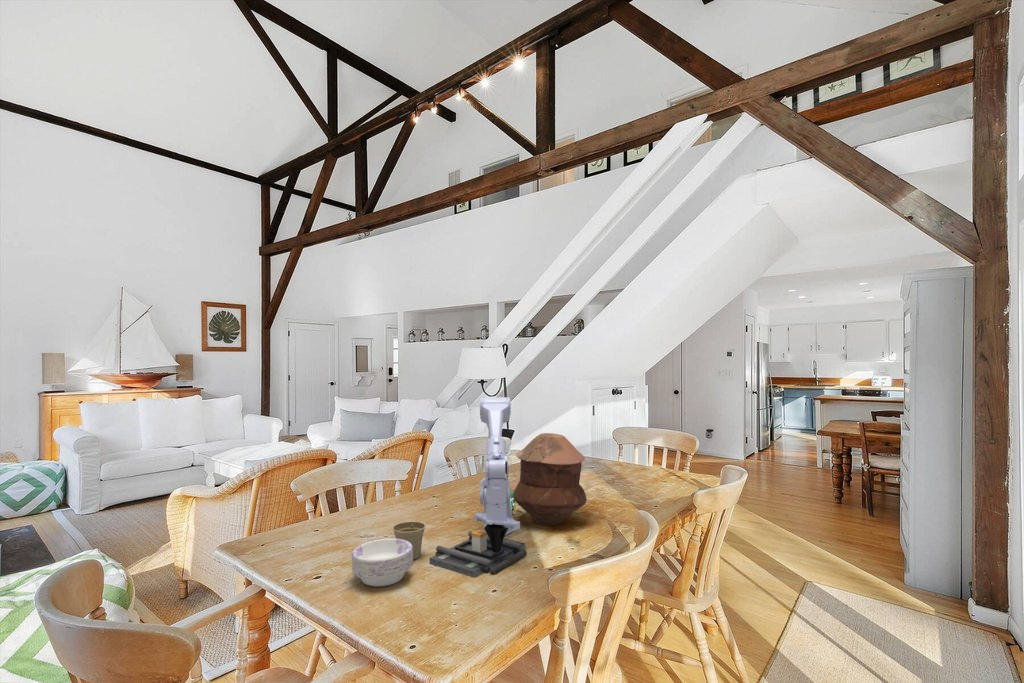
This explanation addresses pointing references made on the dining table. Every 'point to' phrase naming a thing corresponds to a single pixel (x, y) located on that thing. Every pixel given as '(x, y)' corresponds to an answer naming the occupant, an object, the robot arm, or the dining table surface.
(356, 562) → the paper bowls
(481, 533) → the breaker lever
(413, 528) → the flower pot
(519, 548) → the dark grey bar
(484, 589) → the dining table surface
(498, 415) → the robot arm
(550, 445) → the pottery vessel
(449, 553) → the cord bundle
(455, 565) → the breaker panel
